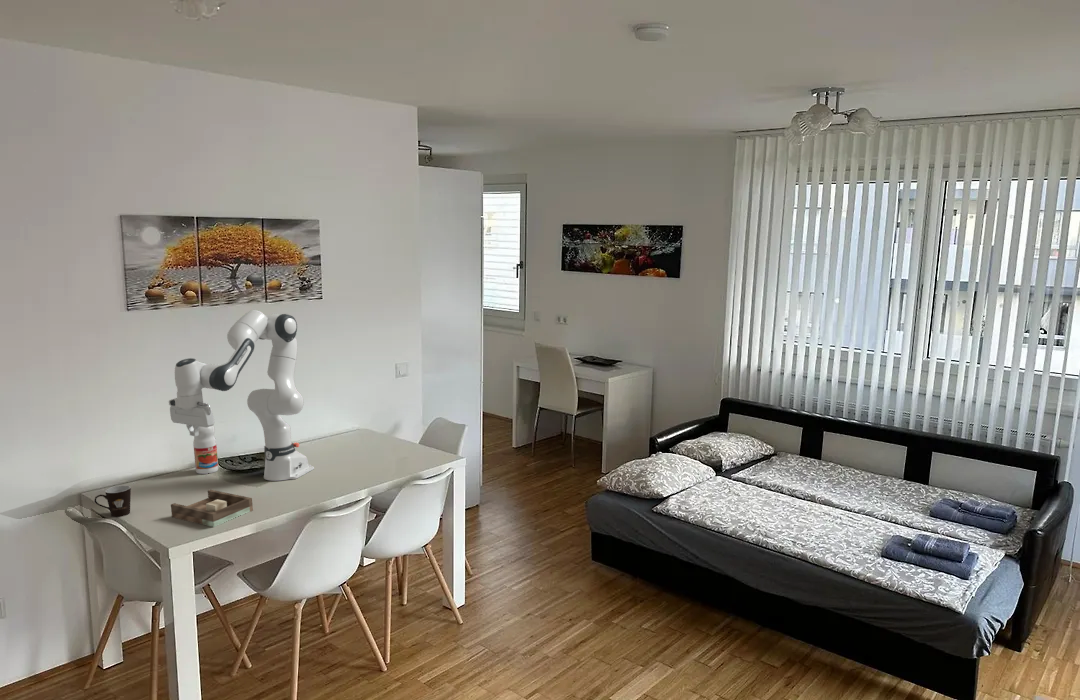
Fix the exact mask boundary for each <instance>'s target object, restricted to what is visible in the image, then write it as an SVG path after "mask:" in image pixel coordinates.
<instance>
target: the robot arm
mask: <svg viewBox="0 0 1080 700" xmlns="http://www.w3.org/2000/svg"><path fill="white" fill-rule="evenodd" d="M297 331H298V324H297V320H296V318H295V317H294V316H293V315H290V314H288V313H272V314H264V313H263V312H262V311H260V310H257V309H251V310H249V311H247V312H246V313H245V314H244V315H242V316H241V317H240V318H239V319H238V320H236V322H235V323H234V324H233V325H232V326H231V327H230V329H229V330H228V332H227V333H226V334H227V335H226V338H227V342H228V344H229V345H230V346H231V348H232V349H233V350H234V352H233V353H232V354H231V356H230V358H229V359H228V361H227V362H226V363H223V364H215V363H213V364H212V363H206V362H201V361H198V360H197V359H195V358H192V357H190V358H185V359H181V360H179V361H178V362H177V363H176V364H175V366H174V381H175V386H176V389H177V391H176V397H174V398H172V399H169V400H168V405H169V414H170V420H171V421H172V423H176V424H180V425H181V424H182V425H186V429H187V431H188V433H189V436H191V437H194V436H198V435H199V429H200V427H210V426H214V425H215V417H214V413H213V409H212V408H211V406H210V405H209V403H206V402H204V397H203V389H210V390H215V391H216V390H218V391H222V392H227V391H229V390H231V389H232V388H233V387H234V386H235V385H236V383H237V379H238V378H239V375H240V373H241V371H242V370H243V369H244V367H245V365H246V364H247V362H248V361H249V360H250V357H251V356H252V354H253V352H254V350H255V343H256V342H257V341H258V340H261V341H262V340H269V341H271V343H272V347H271V350H270V351H271V352H270V355H269V360H268V366H267V372H266V373H267V375H268V377H269V378H270V379H271V380H272V381H273V382H274V389H273V388H258V389H255V390H252V391H251V392H249V394H248V395H247V400H246V403H247V406H248V409H249V411H251V412H252V413H253V414H254V415H255V416H256V417H257V418H258V420H259V422H260V424H261V427H262V431H263V436H264V437H263V438H264V446H263V447H264V448H263V449H264V452H263V453H264V456H265V459H264V460H265V462H264V473H263V474H264V475H263V480H267V481H272V482H274V481H276V482H277V481H285V480H296V479H298V478H300V477H302V476H304V475H306V474H307V473H310V472H311V471H313V470H315V467H314V466H313V465H312V464H310V463H309V461H308V457H307V456H306V455H304V453H301V452H299V451H298V450H297V449H296V448H299V447H300V443H299V442H294V443H293V442H292V431H291V426H290V424H289V423H287V422H286V421H285V420H284V419H283V418H282V416H292V415H298V414H299V413H300V412H301V411H302V410H303V408H304V403H305V402H304V397H303V395H302V394H301V393H300V392H299V391H298V389H297V387H296V383H295V371H296V370H295V369H296V364H297V358H298V357H297V356H298V340H297V338H296V336H297Z"/></svg>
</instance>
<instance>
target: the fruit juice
mask: <svg viewBox="0 0 1080 700" xmlns="http://www.w3.org/2000/svg"><path fill="white" fill-rule="evenodd" d="M215 432H216V429H215V426H214V425H213V426H210V427H200V429H199V435H198V436H193V437H194V438H193V441H192V442H193V444H192V445H193V454H194V464H195V465H194V466H195V472H196V473H197V474H199V475H208V473H209V474H213V473H216V472H217V471H218V470H219V461H218V459H219V458H218V447H217V439H216V436H215Z"/></svg>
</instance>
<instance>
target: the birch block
mask: <svg viewBox="0 0 1080 700" xmlns="http://www.w3.org/2000/svg"><path fill="white" fill-rule="evenodd" d="M225 507H227V502H226V501H223V500H218V499H217V500H214V501H212V502H209V503H206V509H207V511H211V512H215V511H217V510H220V509H222V508H225Z"/></svg>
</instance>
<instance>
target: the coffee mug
mask: <svg viewBox="0 0 1080 700" xmlns="http://www.w3.org/2000/svg"><path fill="white" fill-rule="evenodd" d="M104 493H105V494H98V495H96V496H95V497H94V502H95V504H96V505H98V506H99V507H101V508H104V509H108V510H109V512H110V515H111V517H113V518H121V517H124V516H127V515H129V514H131V499H132V498H131V494H132V487H131V486H130V485H127V484H123V485H114V486H111V487H109V488H106V489H105V490H104ZM99 497H103V498H105V500H107V505H108V506H105V505H103V504H100V503H98V501H97V499H98V498H99Z"/></svg>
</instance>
